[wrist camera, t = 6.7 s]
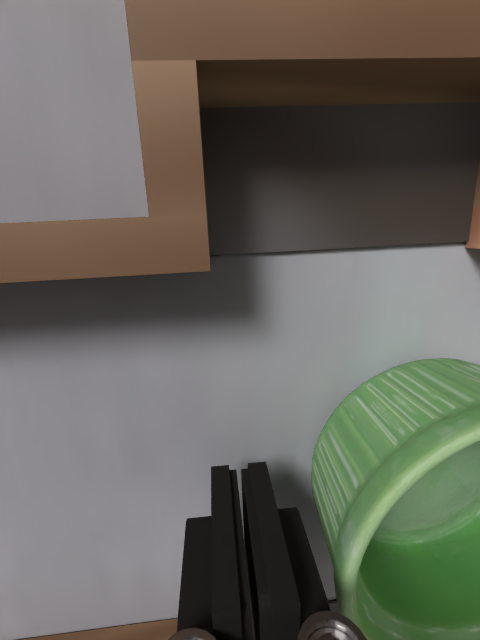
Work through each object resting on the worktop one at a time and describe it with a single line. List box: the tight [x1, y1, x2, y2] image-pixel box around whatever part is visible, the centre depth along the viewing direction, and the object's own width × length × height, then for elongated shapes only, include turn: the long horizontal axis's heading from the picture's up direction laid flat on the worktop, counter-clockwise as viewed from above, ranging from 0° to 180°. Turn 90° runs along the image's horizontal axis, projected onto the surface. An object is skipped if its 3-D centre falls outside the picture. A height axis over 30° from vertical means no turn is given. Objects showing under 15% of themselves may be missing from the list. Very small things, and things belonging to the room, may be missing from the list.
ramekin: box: [311, 358, 480, 640], centre depth 10 cm, size 9×9×4 cm
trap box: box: [0, 0, 480, 640], centre depth 10 cm, size 24×30×2 cm
